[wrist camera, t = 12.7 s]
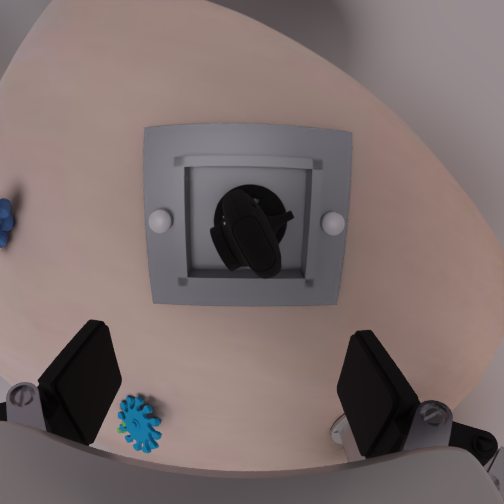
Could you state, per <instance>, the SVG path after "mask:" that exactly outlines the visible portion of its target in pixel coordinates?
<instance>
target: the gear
mask: <svg viewBox="0 0 504 504" xmlns="http://www.w3.org/2000/svg"><path fill="white" fill-rule="evenodd" d="M126 401H127V402H122V403H120V407H121V408H122V409H123V411H124V412H123V411H121V412H119V413H118V418H120V419H122V420H123V422H122V424H120V428H117V431H118V433H125V432H126V431H128V432H129V433H130V435H128V436H125V439H126V441H127V443H129V442H133V440H134V439H135V440H136V441H137V443H136V444H134V445H133V447H134V449H135V450H137V451H139V450H141V449H142V451H143V452H145V453H150V452H151V449H155V448H158V447H159V445H158V444H157V442H156V441H155V440H158V439H160V438H161V435H162V434H161V433H160V432H158V431H156V430H155V429H154V428H153V427H152V426H159V424H160V423H161V420H160V419H158V418H153V419H151V418H148V417H147V415H146V413H152V412H153V409H152V407H151V406H150V405H145V406H144V408H143V410H142V411H141V410H140V405H143V403H144V401H143V399H142V398H140V397H136V398H135V399H134V398H133V397H126ZM134 402H135V406H134V407H133V404H134ZM151 433H152V434H151ZM152 436H153V437H152ZM153 438H154V439H155V440H154V439H153ZM142 442H143V445H144V446H143V447H142V446H141V445H142ZM150 448H151V449H150Z"/></svg>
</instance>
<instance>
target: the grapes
mask: <svg viewBox="0 0 504 504" xmlns="http://www.w3.org/2000/svg"><path fill="white" fill-rule="evenodd" d="M10 212H11V204H10V201H9V200H8V199H4V198H2V199H0V248H2V247H5V246H6V245H7V241H8V235H7V231H10V230H11V229H12V228H13V224H14V219H13V216H12V215H11V214H10Z"/></svg>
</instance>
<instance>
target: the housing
mask: <svg viewBox="0 0 504 504" xmlns="http://www.w3.org/2000/svg"><path fill="white" fill-rule="evenodd" d="M351 163H352V132H346V131H339V130H331V129H322V128H313V127H302V126H290V125H273V124H246V123H212V124H185V125H169V126H157V127H146V128H144V209H145V227H146V241H147V253H148V264H149V274H150V283H151V291H152V298H153V303H154V304H175V305H203V306H311V305H337V301H338V295H339V288H340V281H341V274H342V267H343V259H344V251H345V242H346V233H347V223H348V211H349V199H350V183H351ZM246 184H254V185H259V186H263V187H265V188H268V189H269V190H271V191H272V192H274V193H275V194H276V195H277V196H278V197H279V198H280V200H281V201H282V203H283V205H284V207H285V209H286V212H288V211H291V212H292V213H293V215H294V218H293V219H292V220H290V221H288V222H287V228H286V232H285V235H284V237H283V239H282V240H281V242H280V243H279V248H280V253H281V265H282V268H281V271H280V272H279V273H278V274H277V275H276V276H274V277H272V278H268V279H263V278H260V277H259V276H258V275H256V274H255V273H254V272H253V271H252V270H251V268H247V267H243V266H242V267H240V268H238V269H236V270H234V271H230V270H229V269H228V268H227V267H226V266H225V264H224V263H223V261H222V260H221V258H220V256H219V254H218V252H217V250H216V248H215V246H214V244H213V241H212V238H211V235H210V228H212V227H214V214H215V210H216V207H217V204H218V202H219V201H220V199H221V198H222V197H223V196H224V195H225V194H226V193H227V192H228V191H230V190H231V189H233V188H235V187H238V186H241V185H246ZM254 200H255V201H256V203H257V204H258V202H259V201H260V200H257V199H254Z"/></svg>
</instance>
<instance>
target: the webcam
mask: <svg viewBox="0 0 504 504" xmlns="http://www.w3.org/2000/svg"><path fill="white" fill-rule="evenodd" d="M254 199H257V200H260V201H259V202H258V204H257V203H256V201H255V200H254ZM293 218H294V215H293V213H292V212H291V211H288V212H286V209H285V207H284V205H283V203H282V201H281V200H280V198H279V197H278V196H277V195H276V194H275V193H274V192H272V191H271V190H269V189H268V188H265V187H263V186H259V185H254V184H246V185H241V186H238V187H235V188H233V189H231V190H230V191H228V192H227V193H226V194H225V195H224V196H223V197H222V198H221V199H220V201H219V202H218V204H217V207H216V210H215V214H214V227H212V228H210V235H211V238H212V241H213V244H214V246H215V248H216V250H217V252H218V254H219V256H220V258H221V260H222V261H223V263H224V264H225V266H226V267H227V268H228V269H229V270H230V271H234V270H236V269H238V268H240V267H242V266H243V267H247V268H251V270H252V271H253V272H254V273H255V274H256V275H258V276H259V277H260V278H263V279H268V278H272V277H274V276H276V275H277V274H278V273H279V272H280V271H281V268H282V265H281V253H280V248H279V243H280V242H281V240H282V239H283V237H284V235H285V232H286V228H287V222H288V221H290V220H292V219H293Z"/></svg>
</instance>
